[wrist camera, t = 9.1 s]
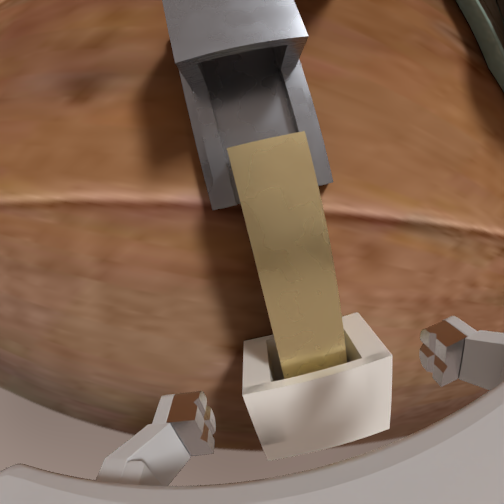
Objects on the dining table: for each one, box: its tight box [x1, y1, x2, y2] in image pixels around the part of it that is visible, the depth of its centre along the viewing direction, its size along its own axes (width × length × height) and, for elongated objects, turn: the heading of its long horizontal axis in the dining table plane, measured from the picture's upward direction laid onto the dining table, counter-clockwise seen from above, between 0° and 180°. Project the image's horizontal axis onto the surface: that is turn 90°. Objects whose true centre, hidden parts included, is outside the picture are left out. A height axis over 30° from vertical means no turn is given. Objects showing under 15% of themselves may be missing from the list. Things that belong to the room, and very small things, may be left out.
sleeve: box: [162, 0, 333, 210], centre depth 15 cm, size 8×14×6 cm, turn 14°
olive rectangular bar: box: [227, 131, 347, 379], centre depth 18 cm, size 4×16×4 cm, turn 14°
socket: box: [242, 312, 392, 461], centre depth 19 cm, size 9×7×6 cm
